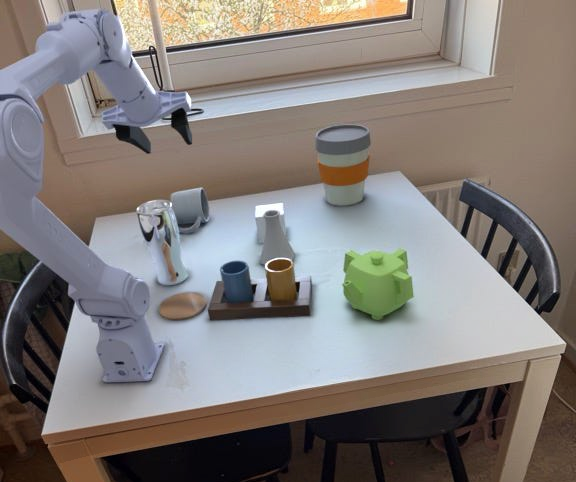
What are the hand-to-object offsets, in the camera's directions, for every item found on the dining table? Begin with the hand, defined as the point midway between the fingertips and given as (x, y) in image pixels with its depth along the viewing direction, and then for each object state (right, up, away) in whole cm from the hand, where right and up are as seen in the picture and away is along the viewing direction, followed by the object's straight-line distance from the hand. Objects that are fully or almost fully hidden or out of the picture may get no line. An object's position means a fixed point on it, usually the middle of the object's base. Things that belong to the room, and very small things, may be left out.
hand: (169, 144), depth 95 cm
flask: (+18, -16, +18) cm, 30 cm away
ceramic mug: (-2, -4, +36) cm, 36 cm away
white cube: (+17, -9, +27) cm, 33 cm away
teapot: (+36, -28, +2) cm, 45 cm away
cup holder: (+16, -26, +6) cm, 31 cm away
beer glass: (-3, -20, +17) cm, 26 cm away
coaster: (+1, -27, +8) cm, 28 cm away
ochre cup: (+20, -26, +6) cm, 33 cm away
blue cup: (+12, -26, +7) cm, 30 cm away
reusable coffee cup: (+34, +4, +38) cm, 51 cm away
